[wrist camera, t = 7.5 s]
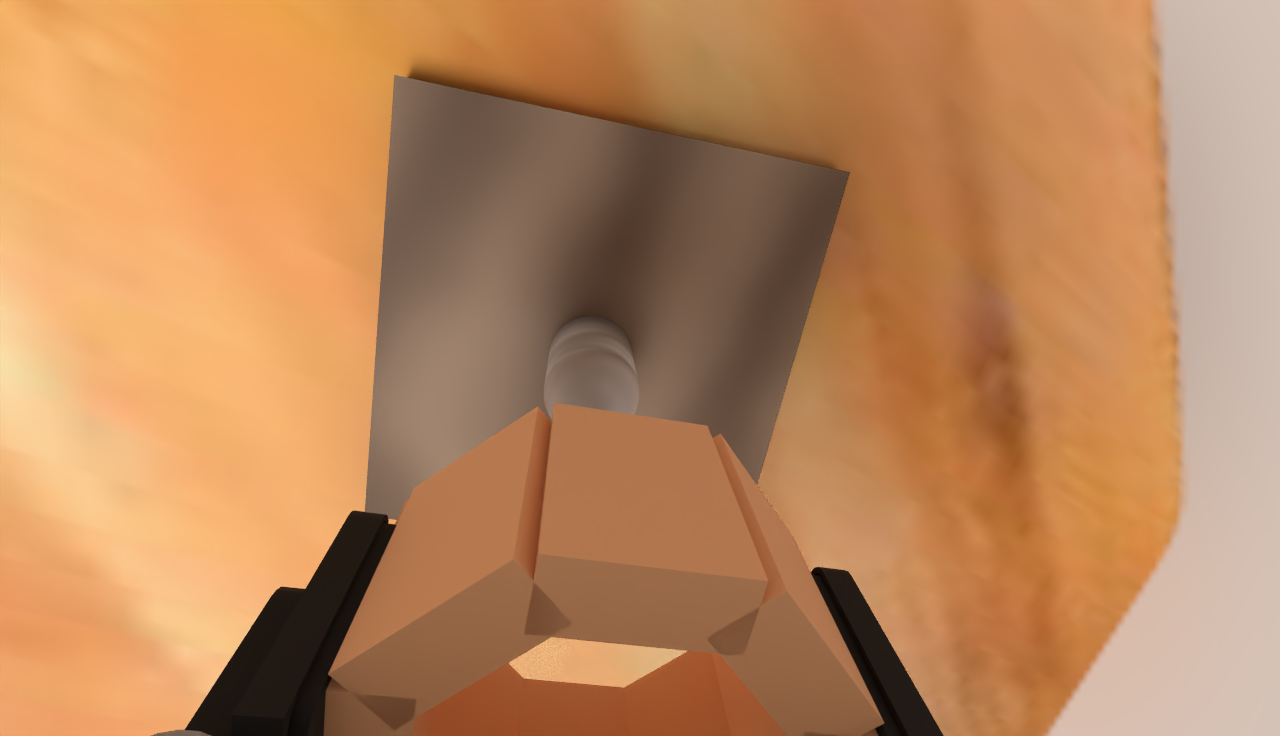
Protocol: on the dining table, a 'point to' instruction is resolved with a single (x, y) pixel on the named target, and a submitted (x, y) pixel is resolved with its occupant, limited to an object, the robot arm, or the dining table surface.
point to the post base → (580, 278)
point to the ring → (594, 595)
